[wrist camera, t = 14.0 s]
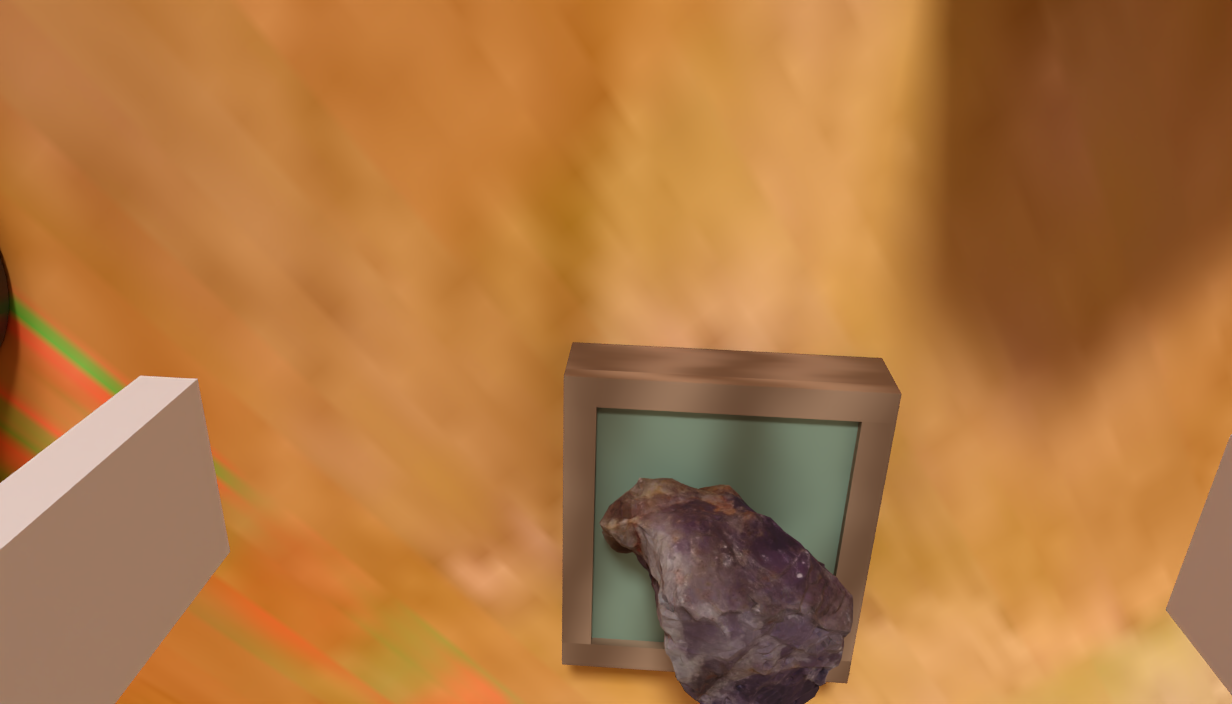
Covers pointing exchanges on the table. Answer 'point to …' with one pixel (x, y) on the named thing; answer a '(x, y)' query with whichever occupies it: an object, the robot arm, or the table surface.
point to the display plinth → (715, 470)
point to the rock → (732, 593)
